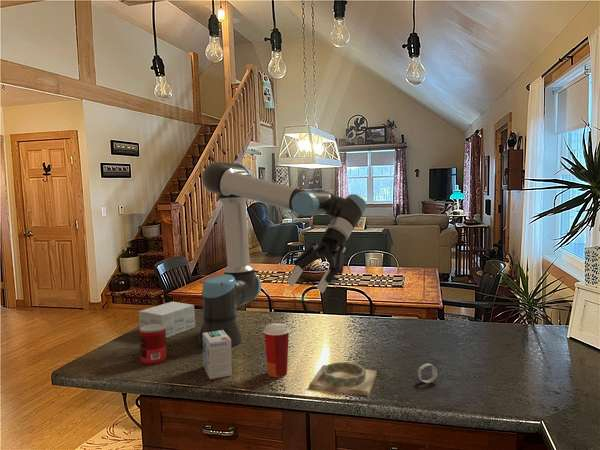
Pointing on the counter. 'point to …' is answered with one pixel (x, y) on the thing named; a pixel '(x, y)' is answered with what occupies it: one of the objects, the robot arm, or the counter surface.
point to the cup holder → (344, 378)
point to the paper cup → (276, 349)
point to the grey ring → (432, 372)
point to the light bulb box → (217, 354)
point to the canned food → (153, 343)
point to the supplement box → (169, 317)
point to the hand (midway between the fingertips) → (304, 287)
